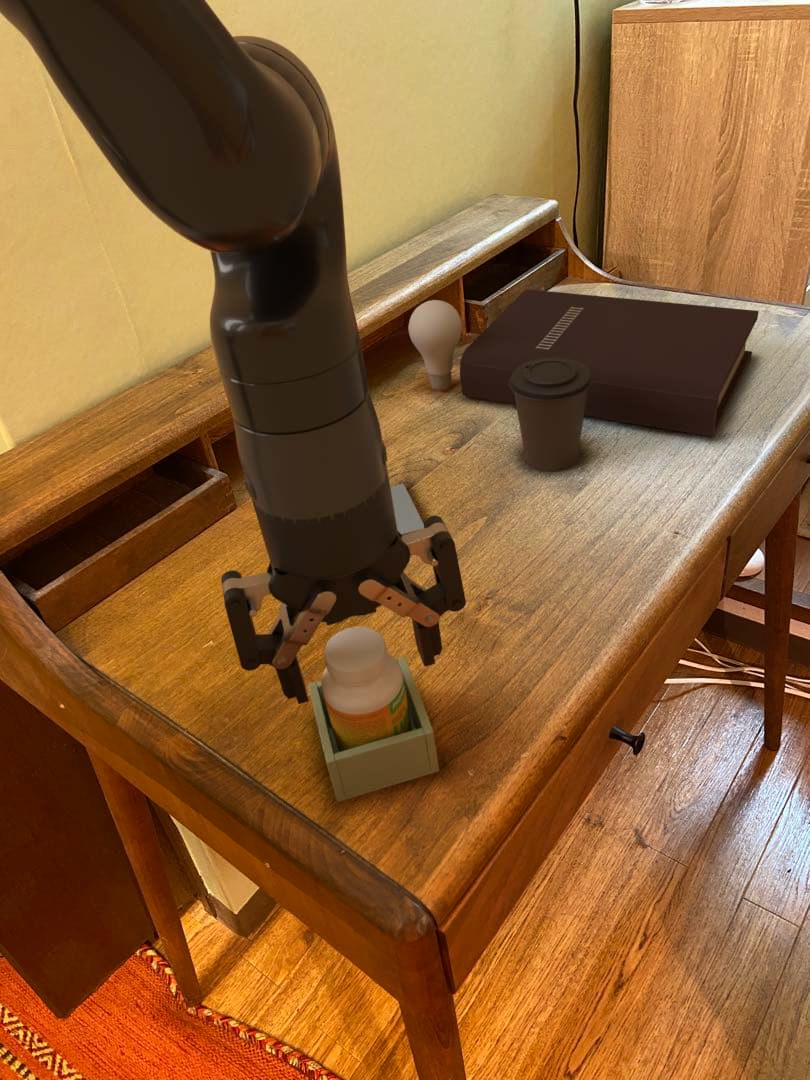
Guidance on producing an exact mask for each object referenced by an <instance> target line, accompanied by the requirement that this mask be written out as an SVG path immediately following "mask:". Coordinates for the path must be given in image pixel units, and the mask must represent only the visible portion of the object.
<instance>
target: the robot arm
mask: <svg viewBox="0 0 810 1080" xmlns="http://www.w3.org/2000/svg"><path fill="white" fill-rule="evenodd" d="M0 14H1V15H2V16H3V17H4V19H6V20H7V22H9V23H10V24H11V25H12V26H13V27H14V28H15V29H16V30H17V31H18V32H19V33H20V34H21V35H22V36H23V37H24V38H25V40H27V42H28V44H30V46H31V47H32V49H33V50H34V53H35V54H36V56H37V57H38V59H39V60H40V62H41V63H42V65H43V67H44V68H45V71H47V73H48V75H49V77H50V78H51V80H52V82H53V83H54V85H55V87H56V88H57V90H58V91H59V93H60V94H61V96H62V97H63V99H64V100H65V101H66V103H67V104H68V106H69V107H70V109H71V110H72V112H73V113H74V114H75V116H76V117H77V119H78V120H79V121H80V123H81V124H82V126H83V128H84V129H85V130H86V132H87V133H88V134H89V136H90V138H91V139H92V140H93V142H94V143H95V145H96V146H97V148H98V149H99V150H100V152H101V154H102V155H103V156H104V157H105V159H106V160H107V162H108V163H109V164H110V166H111V167H112V169H113V170H114V171H115V173H116V174H117V175H118V177H119V178H120V179H121V180H122V182H123V183H124V184H125V185H126V187H127V188H128V189H129V190H130V191H131V192H132V194H133V195H134V196H135V197H136V198H137V200H139V201H140V203H142V205H143V206H144V207H145V208H146V209H148V211H149V212H151V214H153V215H154V216H155V217H156V218H157V219H158V220H159V221H160V222H162V223H163V224H164V225H166V227H168V228H170V229H171V230H172V231H173V232H175V233H176V234H178V235H179V236H180V237H182V238H184V239H185V240H186V241H188V242H190V243H192V244H194V245H196V246H198V247H200V248H202V249H204V250H207V251H209V252H210V255H211V261H212V262H211V263H212V267H213V273H214V289H213V295H212V301H211V305H210V306H211V307H210V312H209V334H210V340H211V346H212V347H211V348H212V351H213V355H214V359H215V363H216V366H217V368H218V371H219V374H220V375H219V376H220V378H221V382H222V384H223V389H224V393H225V395H226V399H227V402H228V405H229V408H230V412H231V419H232V421H233V426H234V432H235V433H234V434H235V440H236V441H235V442H236V449H237V454H238V458H239V461H240V465H241V469H242V473H243V475H244V485H245V488H246V490H247V493H248V495H249V496H250V499H251V502H252V505H253V509H254V512H255V517H256V518H257V522H258V525H259V529H260V532H261V535H262V539H263V542H264V546H265V549H266V552H267V555H268V559H269V565H268V566H267V569H266V571H265V572H262V573H258V574H257V573H256V574H255V575H254V574H253V575H249V576H242V574H241V572H239V571H237V570H228V571H225V572H223V574H222V575H221V578H220V581H221V588H222V597H223V602H224V608H225V612H226V615H227V619H228V622H229V626H230V627H229V628H230V631H231V633H232V637H233V641H234V645H235V648H236V652H237V657H238V660H239V662H240V664H239V665H240V667H241V668H242V669H243V670H244V671H256V670H257V669H258V668H260V666H261V665H268V666H272V667H273V668H274V669H275V672H276V674H277V677H278V680H279V683H280V686H281V689H282V693H283V695H284V696H285V698H287V699H288V700H290V699H294V698H296V701H297V704H298V705H302V704H304V703H308V702H309V696H308V691H307V688H306V683H305V679H304V675H303V671H302V669H301V665H300V662H299V659H298V654H299V652H300V650H301V649H302V647H303V646H307V645H309V643H310V641H311V639H312V638H313V636H314V634H315V633H316V631H317V630H318V628H319V627H320V625H321V623H326V626H332V625H336V624H339V623H341V622H343V621H345V620H347V619H349V618H352V617H360V616H361V617H362V616H367V615H371V614H374V613H377V608H379V607H380V606H383V607H385V608H386V609H388V610H390V611H391V612H392V613H394V614H397V615H398V616H399V617H402V618H406V617H408V618H410V619H411V621H412V628H413V634H414V641H415V645H416V648H417V652H418V655H419V657H420V659H421V662H422V664H423V666H424V668H425V667H429V666H432V665H435V664H436V661H435V657H436V656H439V655H441V653H442V650H443V644H442V636H441V629H440V618H441V617H442V616H443V615H444V614H445V613H447V612H449V611H450V612H453V613H456V612H459V611H462V610H463V609H464V608H465V607H466V605H467V600H466V595H465V590H464V583H463V578H462V573H461V569H460V568H461V567H460V563H459V559H458V554H457V547H456V543H455V541H454V539H453V537H452V535H451V534H450V531H449V529H448V528H447V526H446V524H445V522H444V520H443V518H442V517H441V516H439V515H431V516H429V517H428V518H426V519H425V521H423V524H424V529H422V530H419V531H415V532H412V533H409V534H406V535H402V534H401V533H400V532H398V530H397V525H396V519H395V513H394V507H393V501H392V495H391V489H390V487H391V483H390V477H389V472H388V471H389V470H388V465H387V463H388V453H387V447H386V445H385V443H384V441H383V436H382V435H383V434H382V430H381V426H380V425H381V424H380V422H379V421H380V420H379V418H378V413H377V411H376V408H375V406H374V402H373V400H372V396H371V391H370V387H369V381H368V376H367V371H366V364H365V359H364V354H363V353H364V352H363V348H362V347H363V346H362V342H361V336H360V331H359V327H358V321H357V318H356V314H355V310H354V306H353V302H352V296H351V291H350V283H349V277H348V269H347V268H348V267H347V244H346V243H347V242H346V229H345V226H346V225H345V214H344V200H343V199H344V197H343V186H342V177H341V168H340V159H339V151H338V145H337V144H338V143H337V138H336V131H335V126H334V123H333V118H332V114H331V109H330V107H329V104H328V101H327V97H326V96H325V94H324V91H323V90H322V87H321V85H320V83H319V81H318V80H317V78H316V77H315V76H314V74H313V72H312V71H311V70H310V68H309V67H308V66H307V65H306V64H305V63H304V62H303V61H302V60H301V59H300V58H299V57H298V56H297V55H296V54H294V53H293V52H292V51H291V50H289V49H288V48H287V47H285V46H283V45H282V44H280V43H278V42H275V41H273V40H271V39H268V38H264V37H261V36H254V35H234V36H233V35H232V33H230V31H229V29H228V28H227V27H226V26H225V24H224V23H223V22H222V20H221V19H220V18H219V17H218V15H217V14H216V13H215V11H214V10H213V8H212V7H211V6H210V4H208V2H207V1H206V0H0ZM411 556H417V557H419V558H420V559H421V561H422V562H423V563H424V564H425V565H430V566H431V567H432V570H433V574H434V579H435V584H433V585H432V586H430V587H428V588H425V587H423V586H421V584H418V583H417V582H416V581H414V580H412V579H411V578H410V577H409V576H408V574H406V572H405V570H406V568H407V566H408V564H409V563H410V560H411ZM268 595H271V596H272V597H273V598H274V599H275V600H276V601H278V602H280V606H279V610H278V615H277V617H276V619H275V621H273V622H274V623H273V624H272V625H271V628H270V629H269V631H268V633H263V634H262V633H261V634H257V633H256V629H255V625H254V620H253V617H256V616H257V615H258V612H259V611H260V610H261V609H262V605H263V600H264V598H265V597H267V596H268Z"/></svg>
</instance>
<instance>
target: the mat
mask: <svg viewBox="0 0 810 1080" xmlns="http://www.w3.org/2000/svg"><path fill="white" fill-rule="evenodd" d="M390 489H391V495H392V501H393V507H394V513H395V519H396V525H397V530H398V532H400V533H401V534H402V535H406V534H409V533H412V532H415V531H419V530H422V529H424V521H423V520H422V517H421V515H420V513H419V512H418V509H417V507H416V505H415V503H414V501H413V499H412V497H411V495H410V493H409V491H408V489H407V487H406V485H405V483H400V484H395V485H391V486H390Z"/></svg>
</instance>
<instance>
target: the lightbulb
mask: <svg viewBox="0 0 810 1080" xmlns="http://www.w3.org/2000/svg"><path fill="white" fill-rule="evenodd" d="M462 333H463V322H462V318H461V316H460V313H459V312H458V310H456V308H455V307H454V306H453V305H452V304H450V303H449V302H446V301H444V300H439V299H432V300H428V301H425V302H423V303H421V304H420V305H419V306H417V307H416V308H415V309H414V311H413V312H412V314H411V315H410V318H409V322H408V334H409V338H410V340H411V342H412V344H413V345H414V347H415V348H416V350H417V351H418V352H419V354H420V355H421V358H422V359H423V362H424V365H425V371H426V373H428V378H429V384H430V387H431V389H433V390H436V391H438V392H444V391H446V390H447V389H448V388H450V387H451V385H452V370H453V365H454V364H453V362H454V361H453V359H454V354H455V350H456V349H457V346H458V344H459V341H460V339H461V336H462Z"/></svg>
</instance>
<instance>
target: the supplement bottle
mask: <svg viewBox="0 0 810 1080" xmlns="http://www.w3.org/2000/svg"><path fill="white" fill-rule="evenodd" d="M323 654H324V661H325V666H326V667H325V669H324V670H323V673H322V677H321V680H322V690H323V695H324V699H325V702H326V706H327V710H328V713H329V717H330V721H331V725H332V728H333V732H334V736H335V740H336V743H337V747H338V750H339V752H341V751H345V750H348V749H352V748H355V747H358V746H362V745H365V744H369V743H372V742H376V741H379V740H382V739H386V738H389V737H393V736H396V735H399V734H403V733H406V732H410V731H412V726H411V720H410V714H409V708H408V703H407V698H406V692H405V686H404V681H403V675H402V671H401V667H400V665H399V663H398V661H397V660H396V659H397V658H396V657H395V656H394V655H392V653H390V652H389V651H388V648H387V644H386V641H385V638H384V636H382V634H381V633H380V632H379V631H377V630H375V629H373V628H370V627H367V626H351V627H348V628H347V627H346V628H344V629H342V630H340V631H338V632H337V633H335V634H334V635H332V636H331V637H330V638H329V640H328V641H327V642H326V644H325V647H324V652H323Z"/></svg>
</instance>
